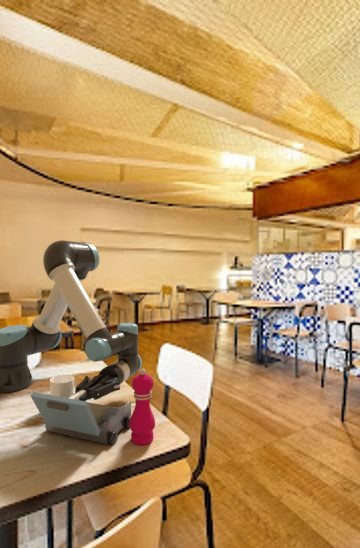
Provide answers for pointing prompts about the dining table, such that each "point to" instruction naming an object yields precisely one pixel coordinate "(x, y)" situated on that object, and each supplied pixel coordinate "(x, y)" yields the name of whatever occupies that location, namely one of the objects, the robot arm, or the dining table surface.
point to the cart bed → (102, 423)
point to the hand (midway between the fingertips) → (69, 404)
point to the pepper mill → (142, 410)
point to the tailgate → (66, 413)
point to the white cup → (62, 386)
